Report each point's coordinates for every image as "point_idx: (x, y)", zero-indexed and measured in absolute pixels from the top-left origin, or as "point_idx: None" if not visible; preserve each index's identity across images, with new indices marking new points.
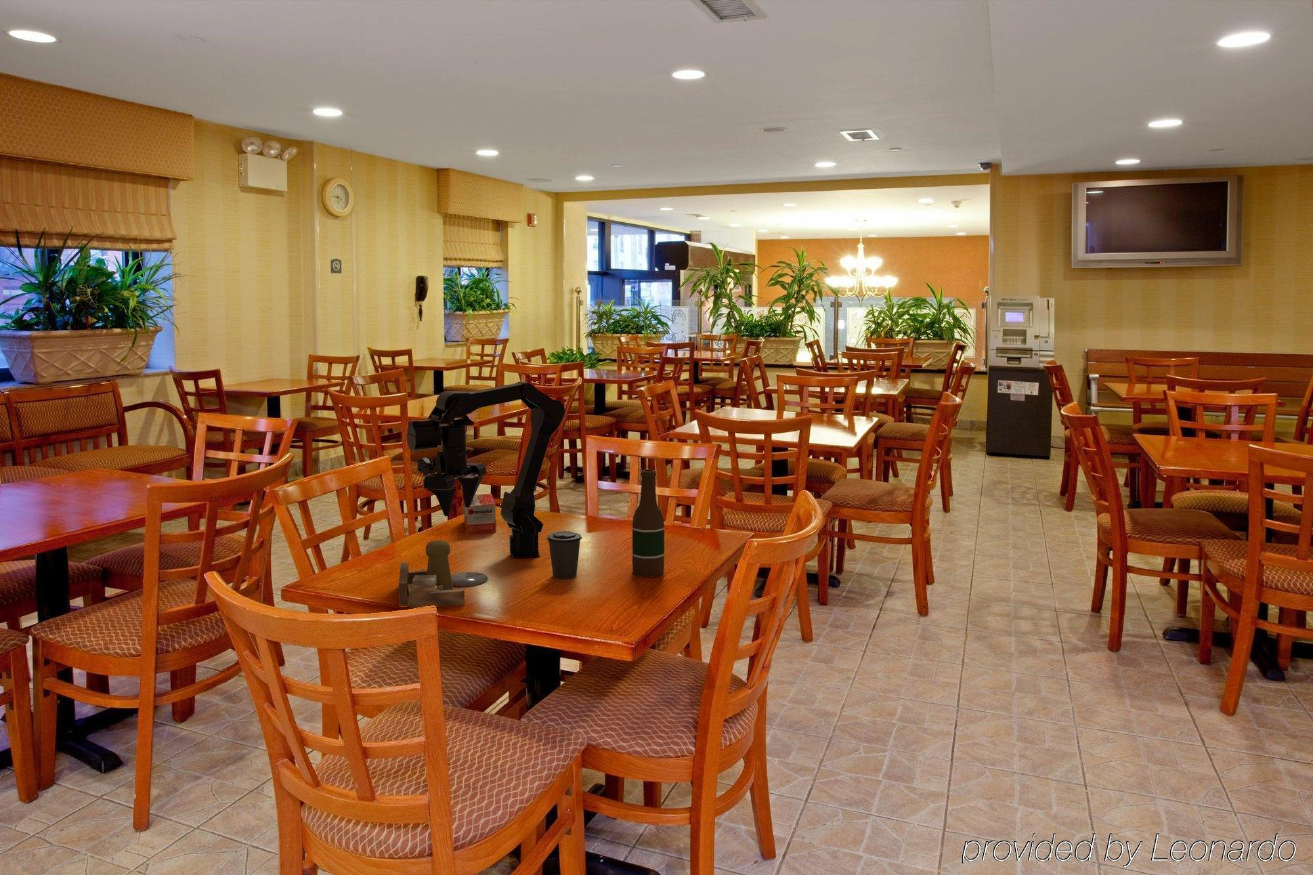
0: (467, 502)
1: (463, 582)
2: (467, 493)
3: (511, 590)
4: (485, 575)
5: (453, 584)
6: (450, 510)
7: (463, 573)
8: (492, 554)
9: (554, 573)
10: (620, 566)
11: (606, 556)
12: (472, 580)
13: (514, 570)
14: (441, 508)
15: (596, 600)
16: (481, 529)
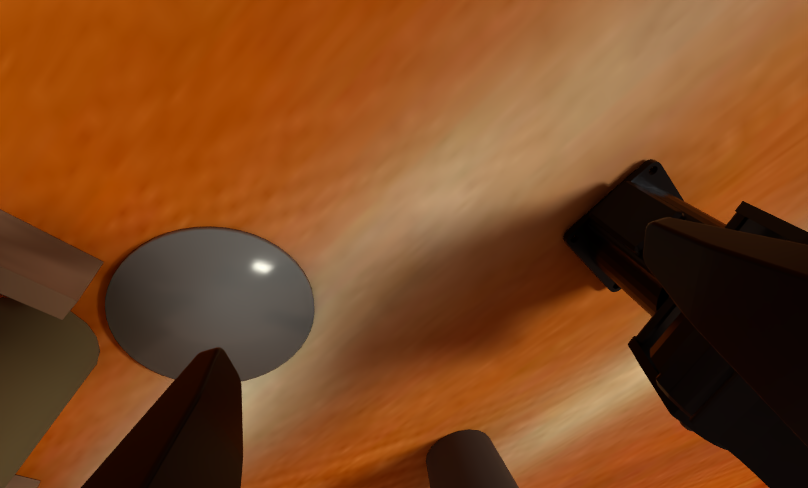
0: (683, 280)
1: (173, 347)
2: (804, 354)
3: (253, 466)
4: (302, 337)
5: (121, 342)
6: (237, 455)
7: (260, 261)
8: (592, 113)
9: (431, 463)
10: (589, 468)
11: None
12: None
13: (431, 337)
14: (132, 432)
15: None
16: None
